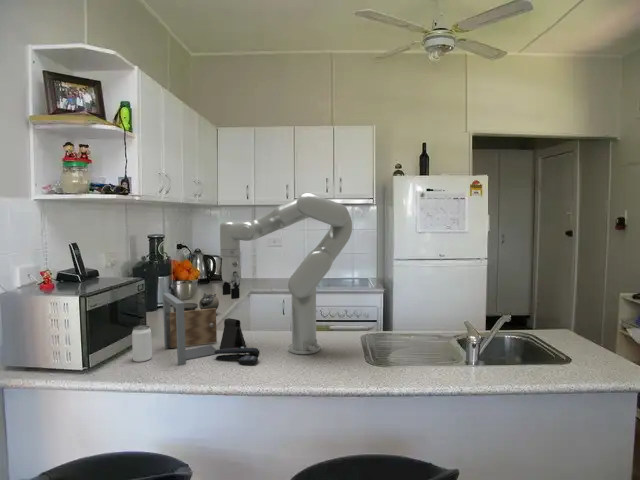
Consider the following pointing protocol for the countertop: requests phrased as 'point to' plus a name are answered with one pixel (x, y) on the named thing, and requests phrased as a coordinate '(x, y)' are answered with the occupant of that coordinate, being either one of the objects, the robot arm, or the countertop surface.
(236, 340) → the phone stand
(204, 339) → the gate door
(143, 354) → the can
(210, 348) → the rubber mat
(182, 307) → the door frame
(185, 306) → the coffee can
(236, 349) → the can opener
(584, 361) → the countertop surface
